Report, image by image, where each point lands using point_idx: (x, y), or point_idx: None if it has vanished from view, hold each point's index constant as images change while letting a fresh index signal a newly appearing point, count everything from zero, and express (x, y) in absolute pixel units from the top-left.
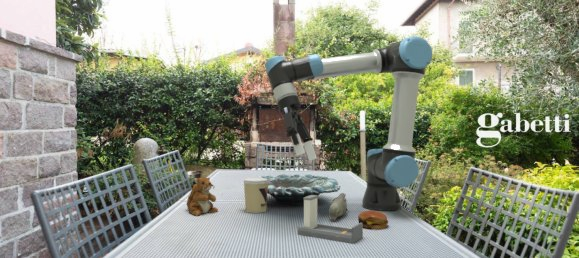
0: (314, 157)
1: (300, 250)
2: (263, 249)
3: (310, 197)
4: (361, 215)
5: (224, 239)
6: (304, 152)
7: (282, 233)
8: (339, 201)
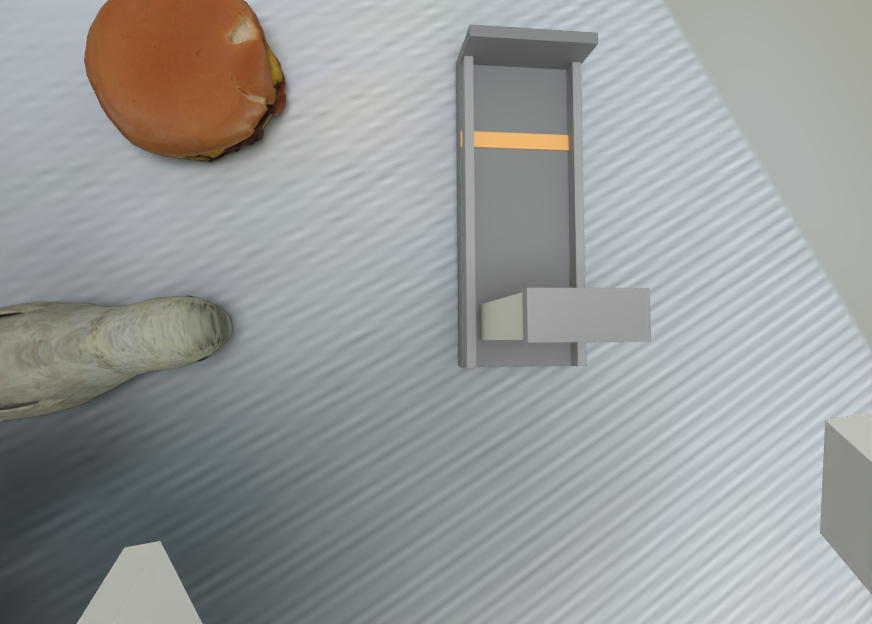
0: (164, 578)
1: (771, 230)
2: (839, 369)
3: (625, 297)
4: (244, 110)
5: (823, 610)
6: (869, 414)
7: (600, 439)
8: (60, 329)
